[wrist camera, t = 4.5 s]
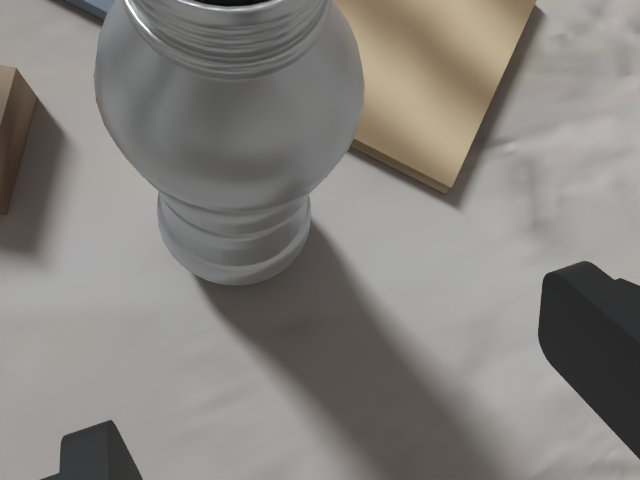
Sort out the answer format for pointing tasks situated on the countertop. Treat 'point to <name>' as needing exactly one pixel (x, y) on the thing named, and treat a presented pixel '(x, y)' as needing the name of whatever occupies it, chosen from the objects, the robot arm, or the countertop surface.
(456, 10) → the oak mat
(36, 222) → the countertop surface
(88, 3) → the slate mat
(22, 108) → the walnut brick
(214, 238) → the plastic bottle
